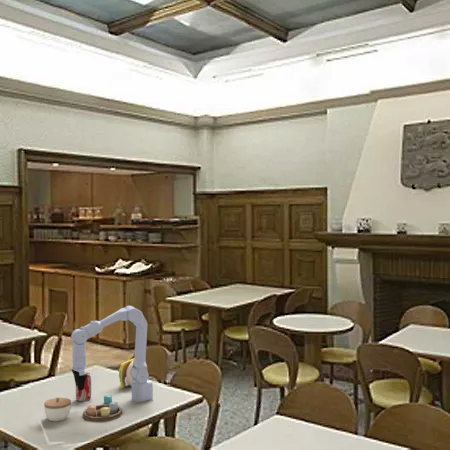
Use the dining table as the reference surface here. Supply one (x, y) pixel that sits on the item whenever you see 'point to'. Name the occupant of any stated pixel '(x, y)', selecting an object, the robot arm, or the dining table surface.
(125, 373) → the hamburger
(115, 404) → the bead slate
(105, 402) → the bead teal
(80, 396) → the soda can
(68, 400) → the lidded jar
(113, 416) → the ring tray
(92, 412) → the bead terracotta
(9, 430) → the dining table surface
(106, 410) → the bead mustard
